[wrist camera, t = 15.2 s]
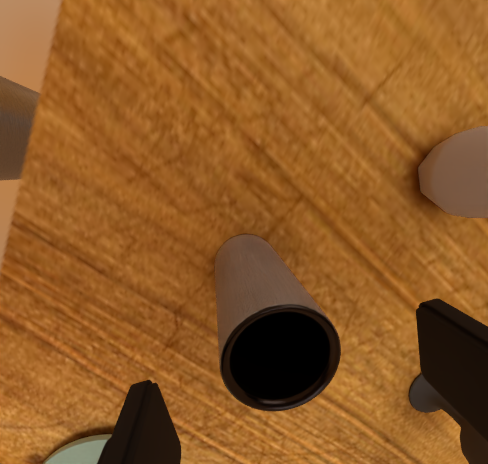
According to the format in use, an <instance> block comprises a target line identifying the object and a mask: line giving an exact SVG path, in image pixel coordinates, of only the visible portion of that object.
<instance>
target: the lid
mask: <svg viewBox="0 0 488 464" xmlns="http://www.w3.org/2000/svg"><path fill="white" fill-rule="evenodd" d="M111 436H112V434H104V435H95V436H89V437H85V438H82V439H78V440H76V441H73V442H71V443H69V444H67V445H65V446H63V447H61V448H60V449H58V450H57V451H55V452H54V453H53V454H51V455H50V456H49V457H48V458H47V459H46V460H45V461H44V462H43V464H97V462H98V460H99V457H100V455H101V452H102V450H103V447H104V445H105V443H106V441H107V440H108V439H109V438H111Z"/></svg>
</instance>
